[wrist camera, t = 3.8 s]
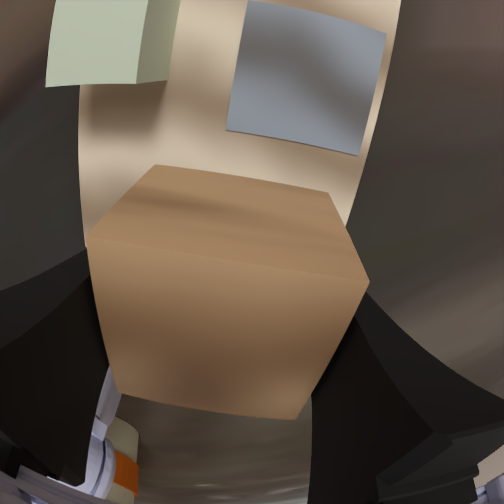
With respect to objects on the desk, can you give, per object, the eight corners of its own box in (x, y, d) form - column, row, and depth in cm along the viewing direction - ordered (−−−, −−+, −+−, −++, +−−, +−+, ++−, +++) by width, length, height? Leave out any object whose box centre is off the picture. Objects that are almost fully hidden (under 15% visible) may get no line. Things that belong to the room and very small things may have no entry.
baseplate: (322, 275, 21) (325, 285, 20) (91, 239, 20) (85, 247, 19) (394, 1, 11) (402, -2, 11) (107, -32, 10) (98, -36, 10)
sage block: (167, 79, 14) (136, 83, 10) (92, 79, 13) (45, 87, 10) (180, 0, 11) (153, -21, 8) (102, 5, 11) (57, -7, 7)
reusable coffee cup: (53, 397, 33) (19, 486, 21) (126, 407, 32) (97, 518, 19) (96, 439, 40) (76, 515, 27) (164, 448, 39) (149, 537, 26)
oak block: (288, 319, 12) (295, 420, 9) (153, 298, 12) (117, 392, 8) (328, 192, 9) (369, 281, 6) (154, 164, 9) (85, 235, 5)
